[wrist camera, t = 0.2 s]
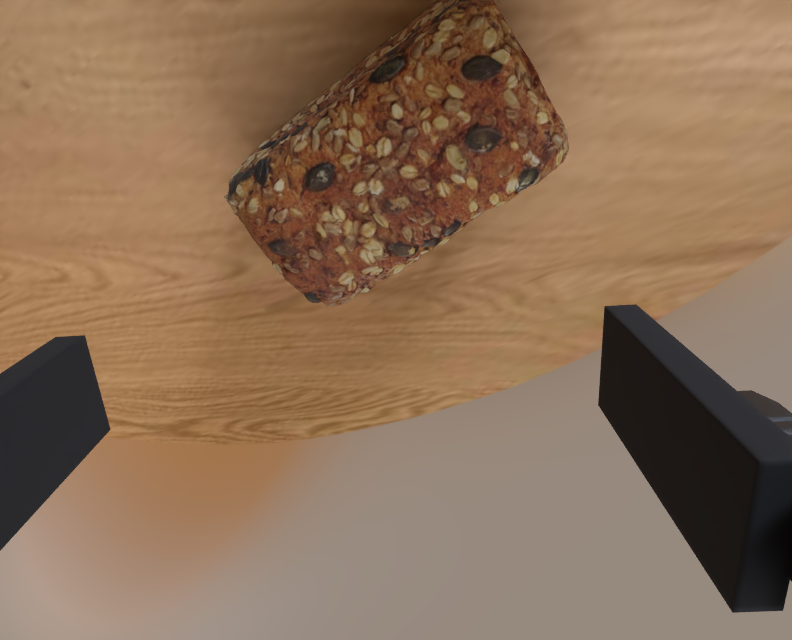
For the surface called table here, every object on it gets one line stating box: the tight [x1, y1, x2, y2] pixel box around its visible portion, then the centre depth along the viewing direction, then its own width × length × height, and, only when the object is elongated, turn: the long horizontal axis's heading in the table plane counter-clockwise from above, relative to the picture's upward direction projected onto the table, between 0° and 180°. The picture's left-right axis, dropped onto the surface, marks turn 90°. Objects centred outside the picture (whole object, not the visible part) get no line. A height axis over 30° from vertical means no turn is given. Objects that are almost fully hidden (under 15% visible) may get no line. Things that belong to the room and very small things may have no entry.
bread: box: [225, 0, 569, 307], centre depth 35 cm, size 19×11×10 cm, turn 126°
